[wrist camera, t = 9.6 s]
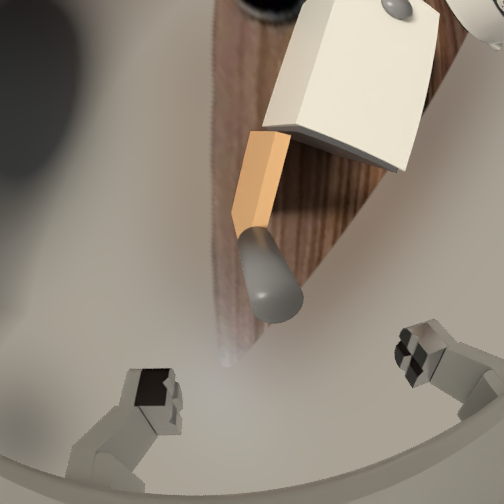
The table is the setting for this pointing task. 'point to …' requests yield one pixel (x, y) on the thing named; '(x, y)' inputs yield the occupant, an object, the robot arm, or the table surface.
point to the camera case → (356, 78)
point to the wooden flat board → (263, 230)
